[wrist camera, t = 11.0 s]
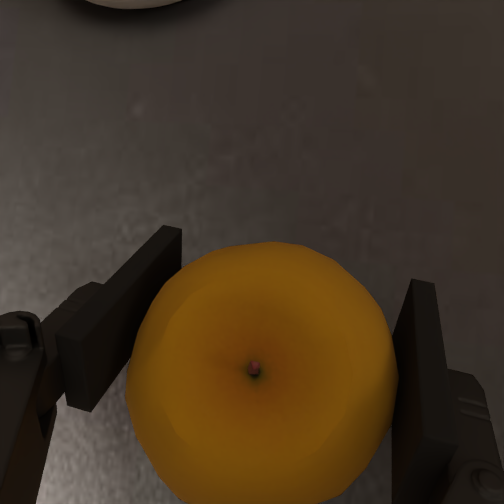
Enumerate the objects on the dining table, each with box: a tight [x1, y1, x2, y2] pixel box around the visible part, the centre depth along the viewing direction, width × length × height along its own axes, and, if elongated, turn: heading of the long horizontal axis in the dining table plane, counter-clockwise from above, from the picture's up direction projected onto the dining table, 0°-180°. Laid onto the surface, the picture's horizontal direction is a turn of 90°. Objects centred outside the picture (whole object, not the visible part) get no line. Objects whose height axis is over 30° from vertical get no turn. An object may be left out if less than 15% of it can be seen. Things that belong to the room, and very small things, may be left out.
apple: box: [125, 241, 399, 504], centre depth 15 cm, size 8×8×9 cm
